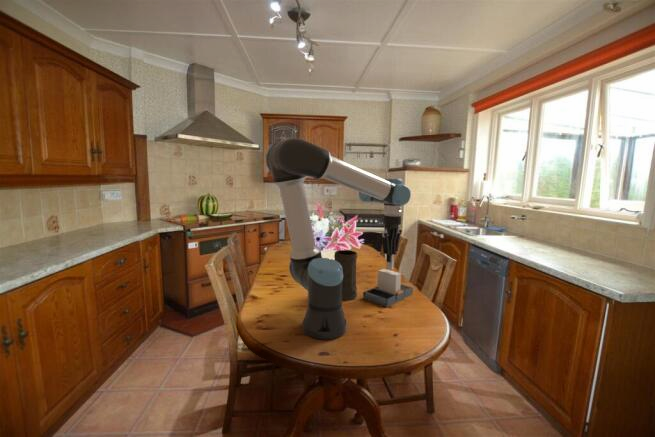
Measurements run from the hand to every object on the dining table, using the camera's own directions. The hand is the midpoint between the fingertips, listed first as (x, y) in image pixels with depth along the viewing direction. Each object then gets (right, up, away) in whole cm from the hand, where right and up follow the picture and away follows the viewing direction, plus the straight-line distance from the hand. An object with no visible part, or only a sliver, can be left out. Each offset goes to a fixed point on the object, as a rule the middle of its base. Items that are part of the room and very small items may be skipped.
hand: (389, 268), depth 132 cm
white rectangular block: (0, -11, +2) cm, 11 cm away
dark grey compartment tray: (0, -12, +2) cm, 13 cm away
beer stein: (-19, -12, +4) cm, 23 cm away
